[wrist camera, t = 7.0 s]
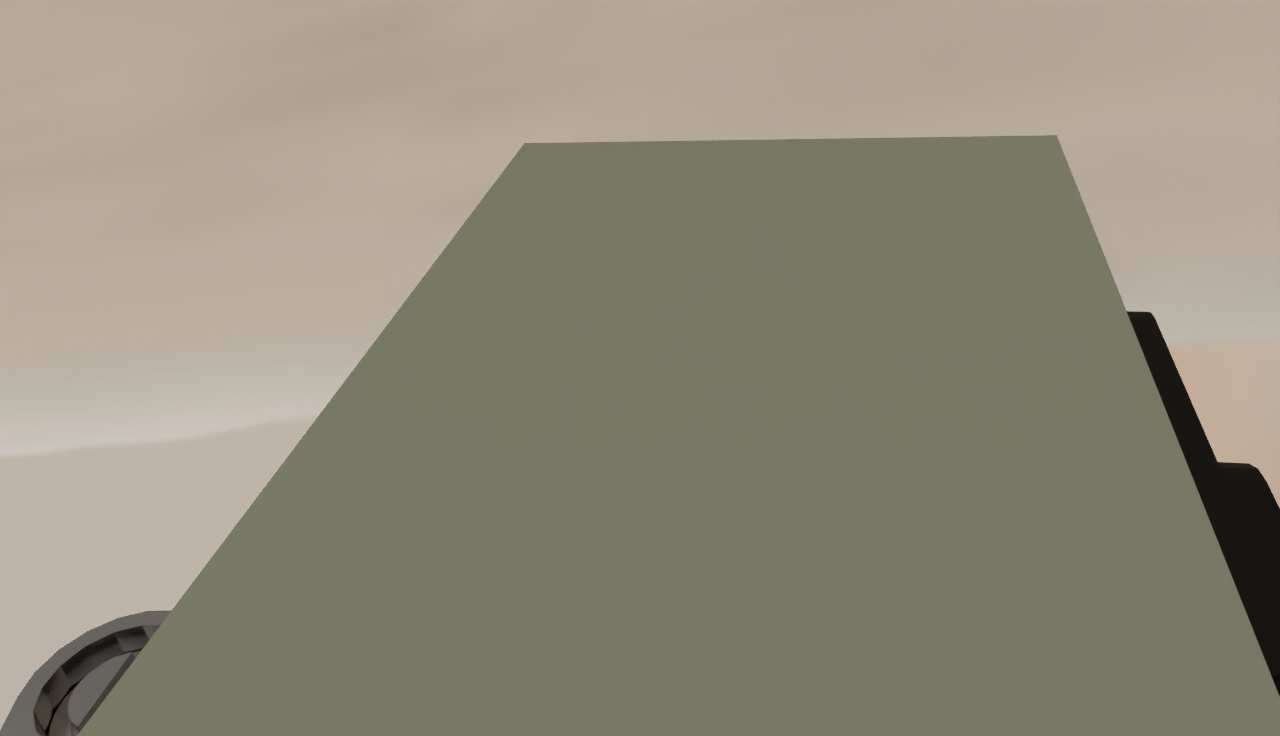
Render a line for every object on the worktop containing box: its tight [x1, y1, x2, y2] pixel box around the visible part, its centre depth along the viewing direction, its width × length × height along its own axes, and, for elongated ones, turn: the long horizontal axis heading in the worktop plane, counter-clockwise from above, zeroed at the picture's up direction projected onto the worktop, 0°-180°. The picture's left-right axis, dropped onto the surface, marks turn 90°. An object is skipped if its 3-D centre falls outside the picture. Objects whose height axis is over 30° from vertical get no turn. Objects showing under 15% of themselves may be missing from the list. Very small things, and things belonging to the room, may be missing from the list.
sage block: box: [77, 135, 1280, 736], centre depth 8 cm, size 5×5×8 cm
